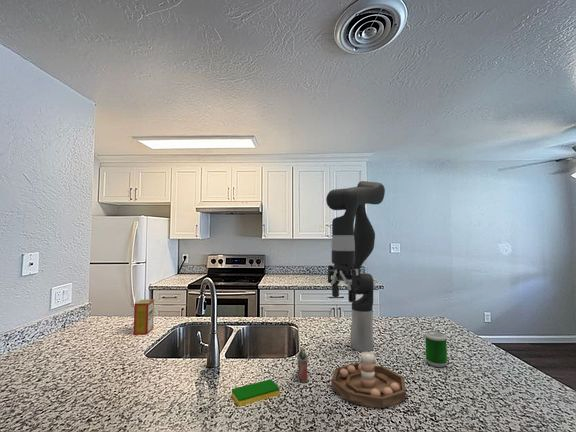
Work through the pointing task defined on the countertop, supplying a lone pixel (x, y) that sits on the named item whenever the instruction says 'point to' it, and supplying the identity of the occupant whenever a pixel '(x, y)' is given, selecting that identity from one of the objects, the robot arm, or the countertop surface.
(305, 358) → the lighter
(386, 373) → the bead tray
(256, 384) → the dish sponge
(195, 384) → the countertop surface
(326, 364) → the countertop surface
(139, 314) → the baking soda box
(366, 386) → the bead stack
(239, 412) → the countertop surface
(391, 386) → the seated beads
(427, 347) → the soda can
